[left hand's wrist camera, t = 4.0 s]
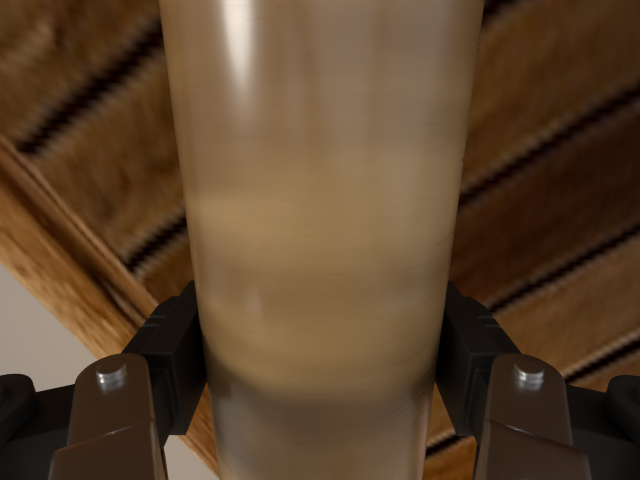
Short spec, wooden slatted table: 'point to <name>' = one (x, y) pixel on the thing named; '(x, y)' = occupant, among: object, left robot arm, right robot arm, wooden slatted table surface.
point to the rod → (321, 221)
